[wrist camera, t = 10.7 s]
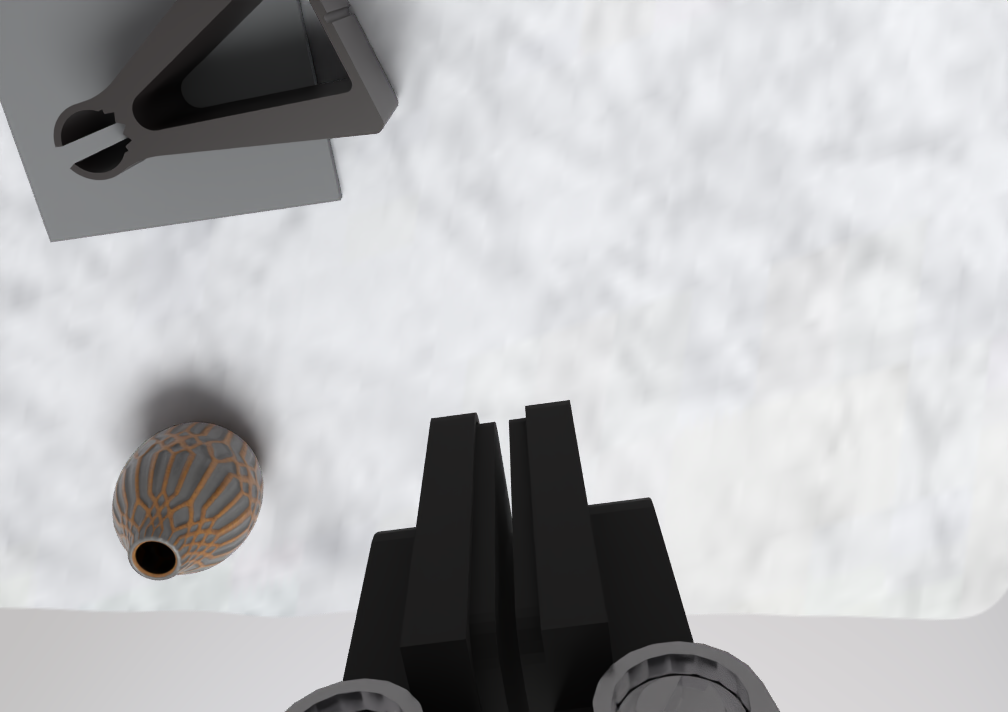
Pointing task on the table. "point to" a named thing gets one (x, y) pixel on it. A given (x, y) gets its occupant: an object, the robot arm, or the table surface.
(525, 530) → the robot arm
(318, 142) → the mat
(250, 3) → the phone stand
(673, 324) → the table surface
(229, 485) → the vase
